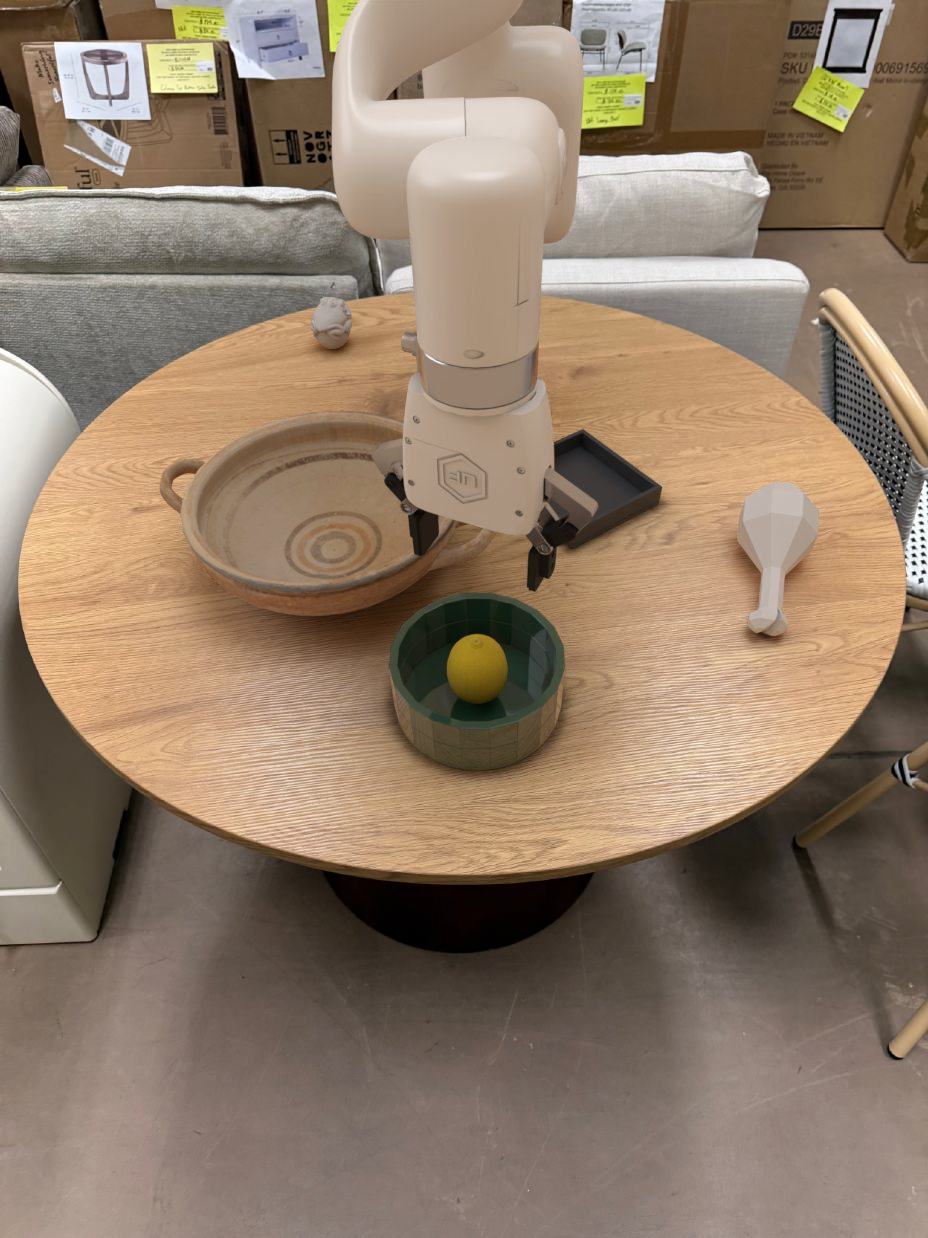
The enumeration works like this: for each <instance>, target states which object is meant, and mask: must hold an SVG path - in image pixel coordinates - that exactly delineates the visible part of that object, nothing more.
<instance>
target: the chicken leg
mask: <svg viewBox="0 0 928 1238" xmlns="http://www.w3.org/2000/svg"><path fill="white" fill-rule="evenodd" d="M737 525H738V526H737V534H736V536H737V537H736V541H737V543H738V544H739V545H740V547H741V548H742V549H743V550H744V552H745V553H746V555H747V556H748V557H749V559H750V560H751V562H752V563H753V565H754V566H755V567H756V569H757V570H758V571H759V572H760V574H761V575H760V584H759V596H758V606H757V609H755V610H753V611H752V612H750V613H749V614H748V617H747V624H746V625H747V628H748V629H750V630H751V631H752V632H753V633H755V634H758V633H762V634H765V635H768V636H772V637H776V636H779V635H782V634H784V633H786V632H787V630H788V627H789V621H788V617H787V616H786V615H785V614H784V612H783V604H784V593H785V592H784V591H785V578H786V576H787V575H788V574H789V573H790V572H791V571H792V570H793V569H794V568H795V567H796V566H798V564H799V563H801V561H803V560H804V559H805V558H807V556H808V555H809V554H810V553H811V552H812V550H813V548H814V545H815V543H816V541H817V538H818V536H819V533H820V532H819V530H820V509H819V508H818V507H817V506H816V504H815V503H814V502H813V501H812V500H811V499H810V498H809V497H808V496H807V495H806V493H805V492H804V491H803V490H802V489H800V488H799V486H798V485H796V484H795V483H793V482H788V481H781V480H780V481H779V480H776V481H773V482H771V483H768V484H764V485H762V486H761V487H760V488H758V489H757V490H755V491H754V492H753V493H751V494H749V495H748V496H746V497H745V498H744V501H743V505H742V508H741V510H740V514H739V517H738V524H737Z"/></svg>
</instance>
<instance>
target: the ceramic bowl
mask: <svg viewBox="0 0 928 1238" xmlns="http://www.w3.org/2000/svg"><path fill="white" fill-rule="evenodd" d="M403 426H404V420H400V419H398V418H395V417H391V416H387V415H383V414H378V413H372V412H364V411H352V410H336V411H335V410H333V411H332V410H331V411H330V410H329V411H319V412H310V413H304V414H299V415H295V416H289V417H285V418H282V419H278V420H275V421H272V422H269V423H266V424H263V425H260V426H259V427H256V428H254V429H252V430H250V431H247V432H245V433H243V434H242V435H240V436H238V437H236V438H234V439H233V440H231V441H229V442H228V443H226V444H225V445H223V446H221V448H220V449H218V450H217V451H216V452H215V453H213V454H212V455H211V456H210V457H209V458H208V459H207V460H206V461H202V460H198V459H193V458H183V459H180V460H177V461H175V462H174V463H172V464H170V465H168V466H167V467H166V468H164V471H163V472H162V474H161V477H160V480H159V494H160V496H161V497H162V499H163V500H164V502H165V503H166V504H167V505H168V506H169V507H171V508H172V509H173V510H174V511H176V513H178V514H179V515H180V522H181V528H182V533H183V535H184V537H185V539H186V541H187V542H188V545H189V547H190V549H191V550H192V552H194V556H195V557H196V559H197V561H198V563H199V564H200V566H201V567H202V568H203V569H204V570H205V571H206V572H207V574H208V575H209V576H210V577H211V579H213V581H214V582H216V583H217V584H218V585H219V586H220V587H222V588H223V589H224V590H226V592H228V593H230V594H231V595H233V596H234V597H236V598H238V599H239V600H242V601H244V602H246V603H248V604H251V605H253V606H255V607H257V608H260V609H265V610H268V611H270V612H274V613H279V614H285V615H291V616H299V617H328V616H335V615H344V614H349V613H353V612H357V611H361V610H364V609H368V608H371V607H373V606H376V605H379V604H381V603H383V602H385V601H388V600H390V599H392V598H394V597H395V596H397V595H399V594H401V593H402V592H404V591H406V590H408V589H409V588H410V587H412V586H413V585H414V584H416V583H417V582H419V580H421V579H422V578H423V577H424V576H426V574H428V572H431V571H435V570H438V569H441V568H446V567H449V566H453V565H457V564H460V563H461V564H462V563H464V562H467V561H468V560H471V559H474V558H476V557H477V556H478V555H480V554H481V553H482V552H483V551H485V549H486V548H487V547H488V546H489V544H490V543H491V542H492V540H493V539H494V537H495V536H496V533H497V532H495V531H491V530H488V529H484V528H481V530H480V532H479V533H478V534H477V535H476V536H475V537H474V538H473V539H471V540H469V541H468V542H466V543H463V544H461V545H458V546H455V547H448V546H449V545H450V543H451V540H452V539H453V536H454V533H455V530H456V529H458V528H461V527H463V526H467V525H468V524H467V523H463V522H460V521H457V520H453V519H450V518H447V517H443V516H440V515H438V521H439V535H438V537H437V538H436V539H435V541H434V542H433V543H432V545H431V546H430V547H429V549H428V550H427V552H426V553H425V554H424V555H422V556H418V555H415V554H414V549H413V539H412V537H410V531H409V521H408V514H405V513H404V512H403V511H402V510H401V508H400V503H401V501H400V500H399V499H398V498H397V497H396V496H395V495H394V494H393V493H392V492H391V491H390V489H389V488H388V487H387V486H386V485H385V483H384V479H385V477H384V475H382V474H381V472H380V471H379V469H378V467H377V466H376V464H375V462H374V461H373V459H372V457H371V454H372V452H373V451H374V450H375V449H376V448H377V447H378V446H379V445H380V444H381V443H384V442H388V441H392V440H396V439H400V438H403ZM400 462H401V464H400V465H402V466H403V461H400ZM188 474H192V475H193V477H192V478H191V480H190V482H189V483H188V484H187V486H186V490H185V493H184V495H183V496H182V497H181V496H180V495H179V494H178V493H176V492H175V491H174V489H173V488H172V486H173V483H174V481H175V479H177V478H179V477H181V476H184V475H188Z"/></svg>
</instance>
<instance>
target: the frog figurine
mask: <svg viewBox="0 0 928 1238" xmlns="http://www.w3.org/2000/svg"><path fill="white" fill-rule="evenodd" d="M352 318H353V315H352V311H351V308H350V307H349V305H348V303H346V301H345V300H344V299H342V298H337V297H335V296H331V297H328V296H323V297H322V298H320V300H319V303H318V305H317V306H316V308H315V310H314V311H313V313H312V315H311V321H310V330H311V332H312V336H313V337H314V338H315V339H316V341H317V342H318V344H319V345H321V346H322V347H323V348H325V349H328V350H337V349H340V348H341V347H343V346H344V345H345V344H346V343H347V341H348V339H349V337H350V334H351V329H352V327H353V321H352V320H353V319H352Z"/></svg>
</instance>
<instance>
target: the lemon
mask: <svg viewBox="0 0 928 1238" xmlns="http://www.w3.org/2000/svg"><path fill="white" fill-rule="evenodd" d="M507 672H508V665H507V661H506V657H505V654H504V652H503V650H502V648H501V646H500V645H499V644H498V643H497V642H496V641H495V640H494V639H492V638H491V637H489V636H486V635H482V634H472V635H469V636H466V637H464V638H462V639H460V640H459V641H458V642H457V643H456V644H455V645H454V647H453V648H452V650H451V652H450V655H449V658H448V662H447V677H448V681H449V684H450V686H451V688H452V690H453V691H454V693H455V694H456V695H457V696H458V697H459V698H461V699H462V700H464V701H466V702H469V703H473V704H481V703H486V702H489V701H491V700H493V699H494V698H495V697H497V696H498V695H499V693H500V692H501V691H502V690H503V688H504V685H505V683H506V680H507Z"/></svg>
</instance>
